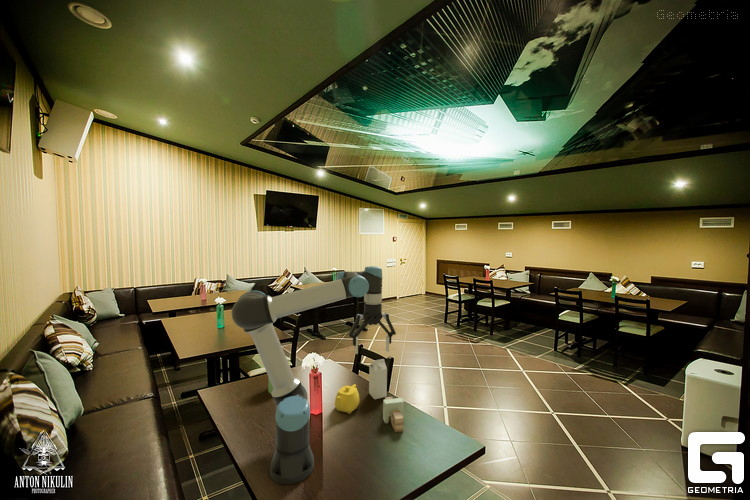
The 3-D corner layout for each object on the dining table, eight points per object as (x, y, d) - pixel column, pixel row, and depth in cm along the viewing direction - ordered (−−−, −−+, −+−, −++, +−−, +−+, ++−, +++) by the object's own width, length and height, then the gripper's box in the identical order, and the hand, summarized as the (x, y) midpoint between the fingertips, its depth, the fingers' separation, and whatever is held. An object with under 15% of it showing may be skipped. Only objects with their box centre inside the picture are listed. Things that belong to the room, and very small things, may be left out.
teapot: (347, 422, 136) (347, 398, 136) (326, 415, 141) (327, 393, 140) (364, 402, 153) (365, 382, 152) (345, 397, 157) (346, 377, 157)
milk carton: (368, 393, 162) (369, 358, 161) (380, 390, 165) (381, 356, 164) (374, 399, 156) (375, 363, 155) (386, 397, 159) (387, 361, 158)
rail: (403, 431, 130) (403, 418, 130) (395, 432, 129) (395, 418, 129) (391, 408, 148) (391, 396, 147) (384, 409, 147) (385, 397, 147)
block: (403, 421, 138) (404, 401, 137) (384, 423, 136) (385, 403, 135) (401, 416, 141) (401, 397, 141) (382, 418, 139) (383, 399, 139)
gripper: (398, 300, 135) (397, 347, 135) (342, 301, 129) (342, 350, 130) (403, 303, 127) (402, 353, 128) (344, 305, 122) (344, 357, 122)
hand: (372, 351), depth 129 cm, fingers open, 13 cm apart
